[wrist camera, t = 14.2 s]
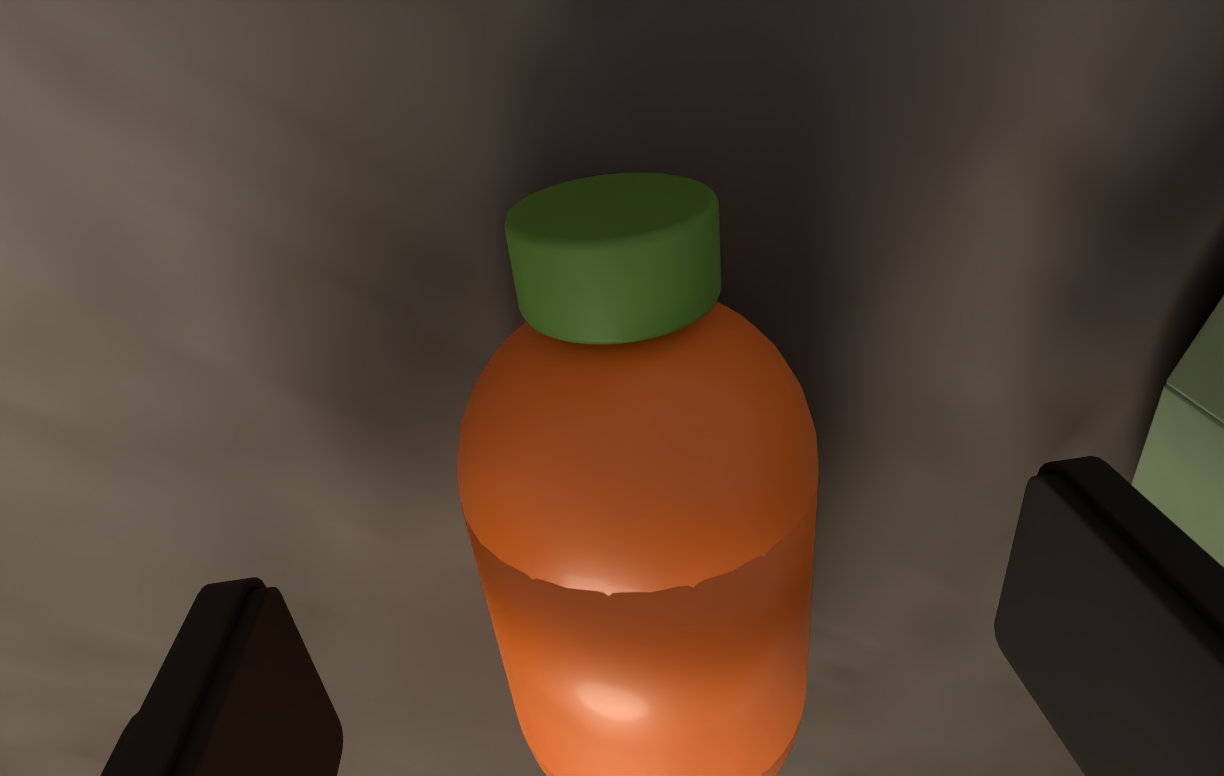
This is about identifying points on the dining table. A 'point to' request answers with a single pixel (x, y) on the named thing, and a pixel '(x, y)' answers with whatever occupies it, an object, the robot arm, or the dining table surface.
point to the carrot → (641, 493)
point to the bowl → (1190, 442)
